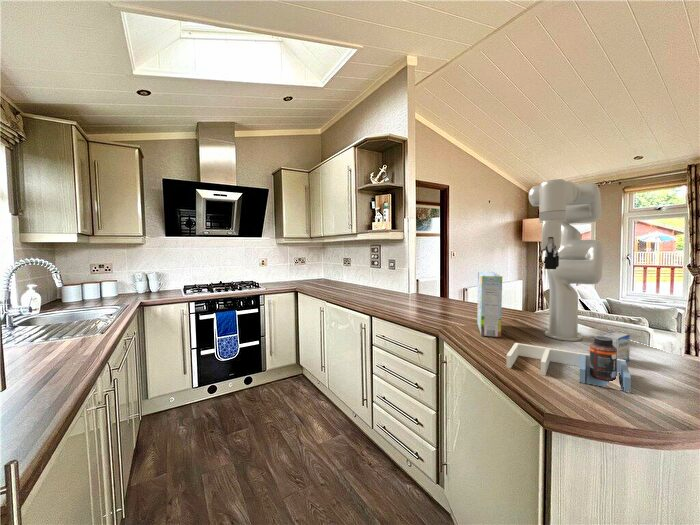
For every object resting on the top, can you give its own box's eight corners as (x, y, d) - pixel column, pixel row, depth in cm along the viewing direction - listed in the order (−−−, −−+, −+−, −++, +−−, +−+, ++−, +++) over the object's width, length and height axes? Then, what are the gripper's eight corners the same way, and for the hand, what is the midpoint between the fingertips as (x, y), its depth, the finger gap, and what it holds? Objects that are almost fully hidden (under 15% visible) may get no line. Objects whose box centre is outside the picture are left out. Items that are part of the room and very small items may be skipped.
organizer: (515, 353, 106) (515, 342, 106) (625, 373, 89) (625, 360, 88) (506, 367, 95) (506, 355, 95) (630, 393, 77) (630, 378, 77)
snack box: (503, 338, 124) (503, 276, 122) (480, 336, 127) (480, 275, 125) (496, 324, 144) (496, 271, 143) (476, 323, 147) (476, 271, 146)
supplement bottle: (622, 382, 83) (622, 341, 82) (597, 381, 84) (597, 341, 83) (608, 373, 88) (608, 335, 88) (585, 372, 90) (585, 334, 89)
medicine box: (618, 365, 94) (618, 338, 93) (600, 361, 98) (601, 335, 97) (629, 360, 98) (630, 334, 97) (612, 356, 102) (613, 331, 101)
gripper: (542, 219, 111) (541, 265, 112) (535, 217, 97) (535, 269, 98) (567, 217, 106) (566, 266, 107) (564, 215, 93) (563, 270, 94)
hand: (551, 267), depth 103 cm, fingers open, 9 cm apart
